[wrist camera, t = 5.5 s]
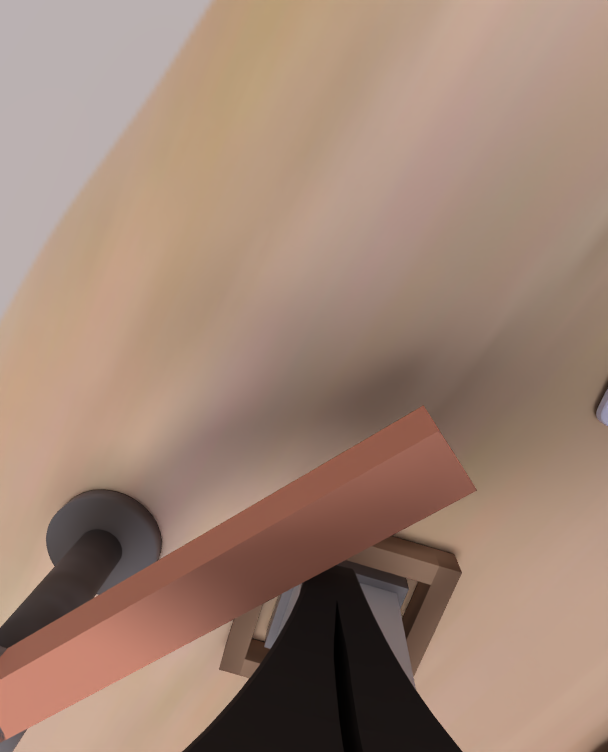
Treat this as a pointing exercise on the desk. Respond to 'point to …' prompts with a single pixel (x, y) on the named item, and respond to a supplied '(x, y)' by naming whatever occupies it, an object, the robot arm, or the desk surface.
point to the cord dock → (143, 547)
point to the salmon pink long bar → (232, 569)
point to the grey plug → (382, 598)
